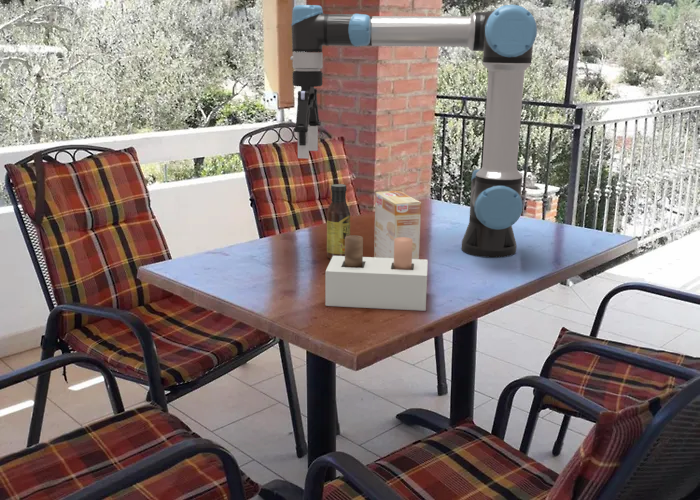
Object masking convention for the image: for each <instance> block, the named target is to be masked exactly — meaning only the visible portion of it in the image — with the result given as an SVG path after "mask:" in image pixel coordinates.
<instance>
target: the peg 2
mask: <svg viewBox="0 0 700 500" xmlns="http://www.w3.org/2000/svg"><path fill="white" fill-rule="evenodd" d="M412 242H413V240H412V239H411V238H407V237H398V238H395V239H394V269H397V270H412Z"/></svg>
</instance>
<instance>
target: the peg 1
mask: <svg viewBox="0 0 700 500" xmlns="http://www.w3.org/2000/svg"><path fill="white" fill-rule="evenodd" d="M363 248H364V237H363V236H361V235H355V234H352V235H351V234H350V236H346V237H345V267H351V268H362V266H363V257H364V255H363V252H364V249H363Z"/></svg>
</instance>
